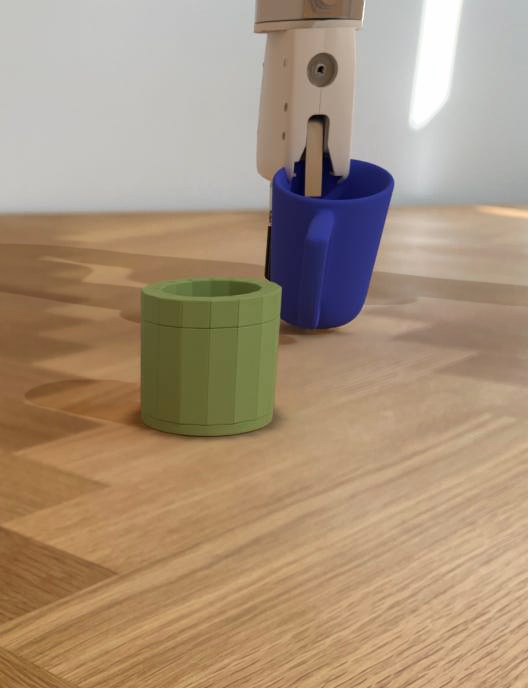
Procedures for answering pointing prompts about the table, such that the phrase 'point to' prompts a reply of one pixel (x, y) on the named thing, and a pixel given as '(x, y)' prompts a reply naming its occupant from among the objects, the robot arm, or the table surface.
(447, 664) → the table surface
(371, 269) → the mug
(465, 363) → the table surface
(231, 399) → the green open cylindrical container
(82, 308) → the table surface
